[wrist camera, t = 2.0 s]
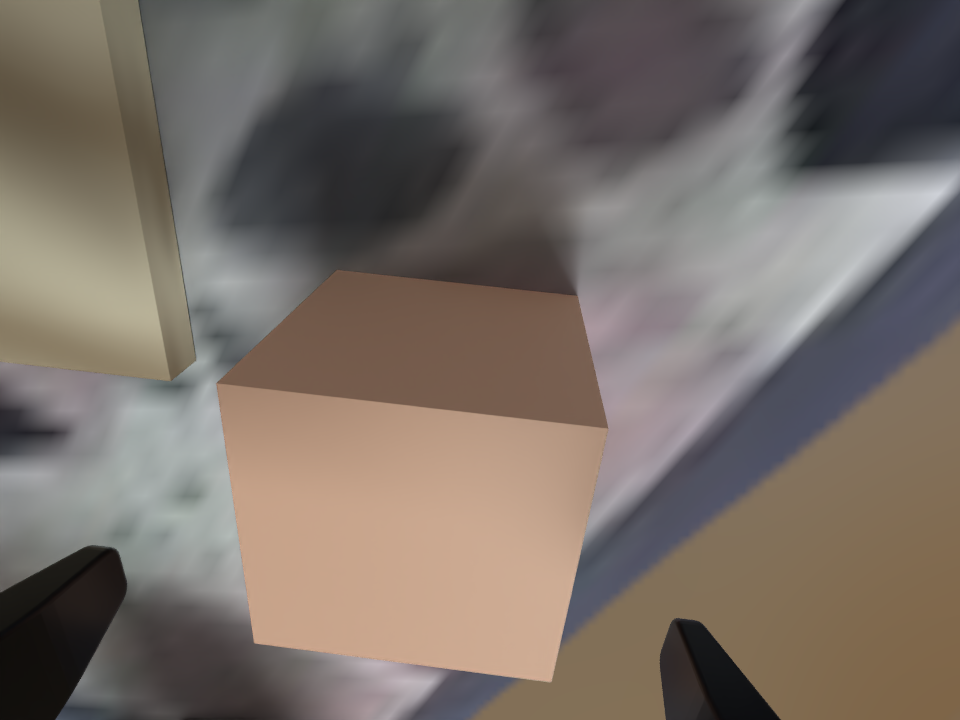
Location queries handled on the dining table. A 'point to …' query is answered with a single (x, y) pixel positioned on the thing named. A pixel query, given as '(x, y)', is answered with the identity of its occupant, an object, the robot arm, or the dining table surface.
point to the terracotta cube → (416, 472)
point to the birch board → (85, 196)
